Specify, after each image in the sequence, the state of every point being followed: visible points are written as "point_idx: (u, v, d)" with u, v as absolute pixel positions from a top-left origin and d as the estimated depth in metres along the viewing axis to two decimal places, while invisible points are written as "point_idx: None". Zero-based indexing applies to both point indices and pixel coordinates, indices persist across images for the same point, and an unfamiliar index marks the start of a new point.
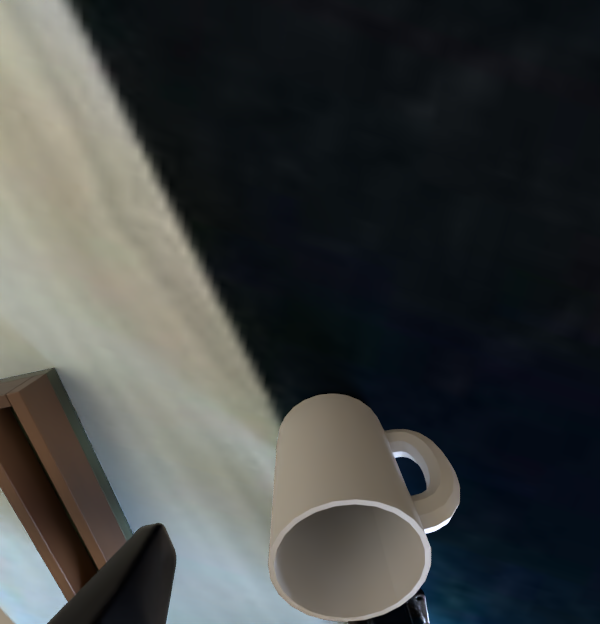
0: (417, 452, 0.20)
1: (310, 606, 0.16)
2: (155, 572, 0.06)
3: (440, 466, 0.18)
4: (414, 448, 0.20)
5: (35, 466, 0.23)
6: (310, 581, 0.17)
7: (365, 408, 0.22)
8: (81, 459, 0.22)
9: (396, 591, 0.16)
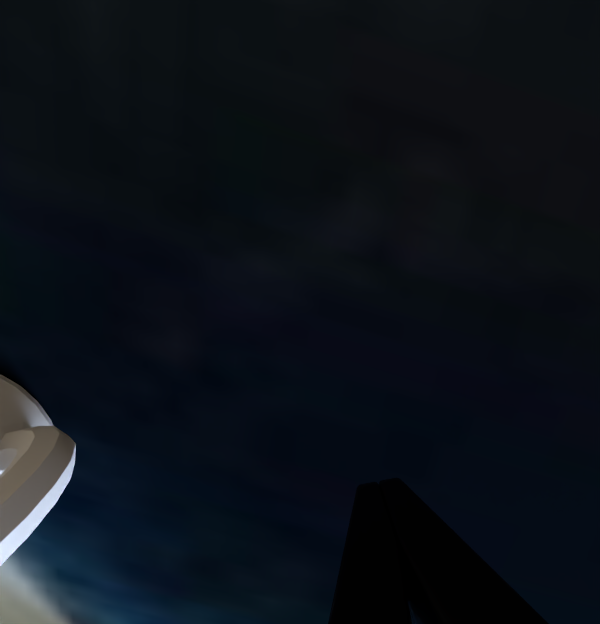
0: (6, 471, 0.10)
1: None
2: None
3: None
4: (11, 464, 0.10)
5: None
6: None
7: None
8: None
9: None
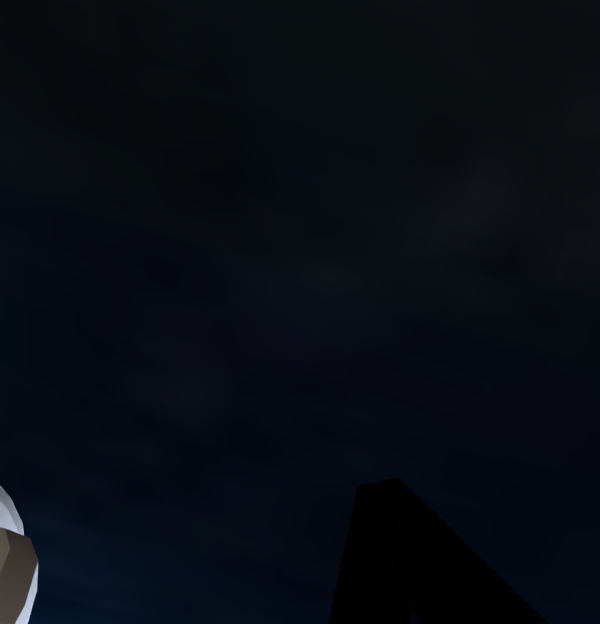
0: None
1: None
2: None
3: None
4: None
5: None
6: None
7: None
8: None
9: None
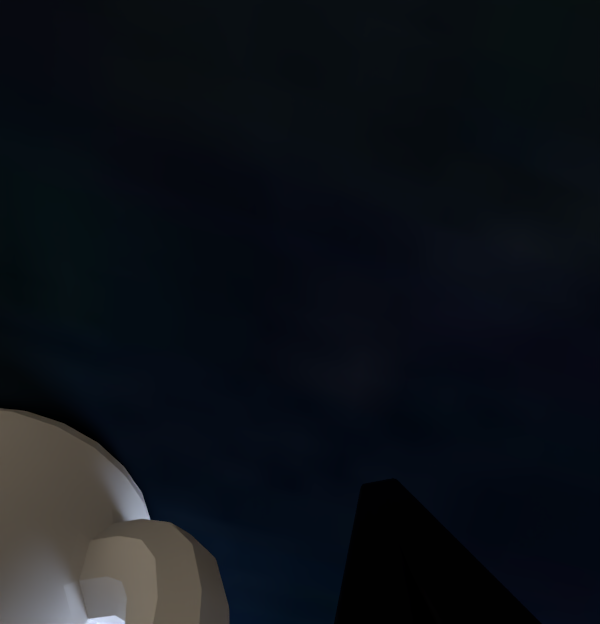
0: None
1: None
2: None
3: None
4: None
5: None
6: None
7: (44, 454, 0.07)
8: None
9: None
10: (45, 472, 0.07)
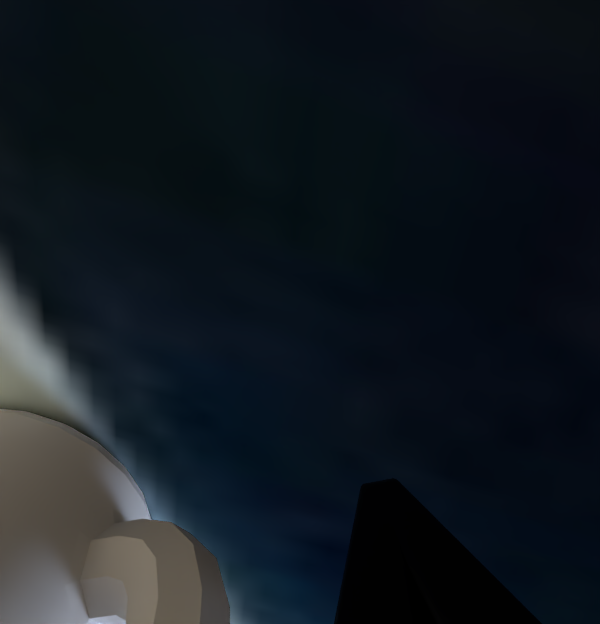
0: None
1: None
2: None
3: None
4: None
5: None
6: None
7: (45, 455, 0.07)
8: None
9: None
10: (46, 472, 0.07)
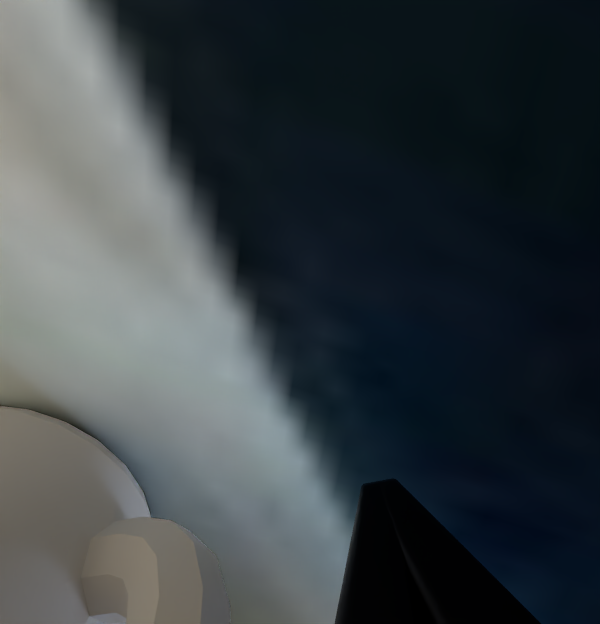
0: None
1: None
2: None
3: None
4: None
5: None
6: None
7: (46, 452, 0.07)
8: None
9: None
10: (46, 470, 0.07)
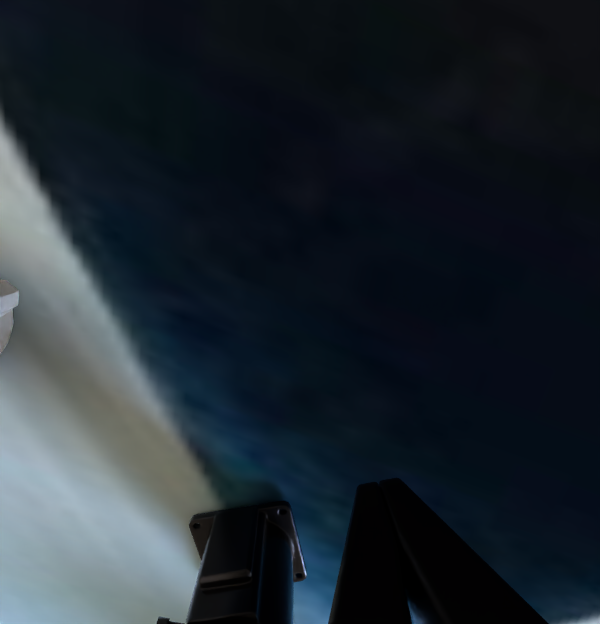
0: None
1: None
2: None
3: None
4: None
5: None
6: None
7: None
8: None
9: None
10: None
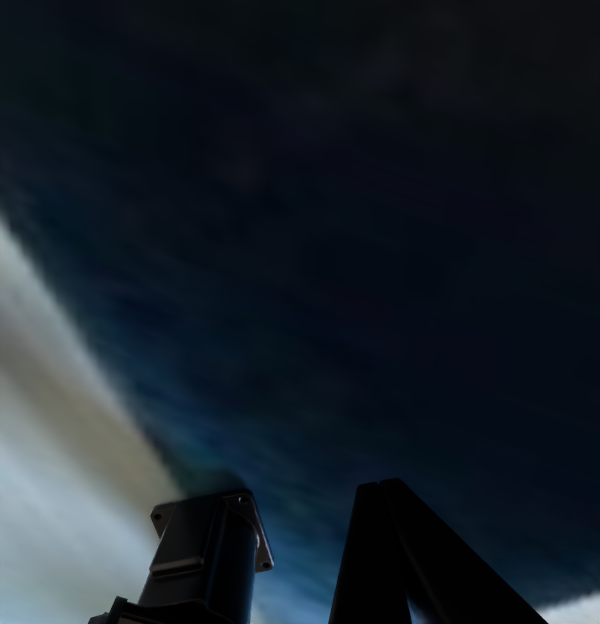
0: None
1: None
2: None
3: None
4: None
5: None
6: None
7: None
8: None
9: None
10: None
